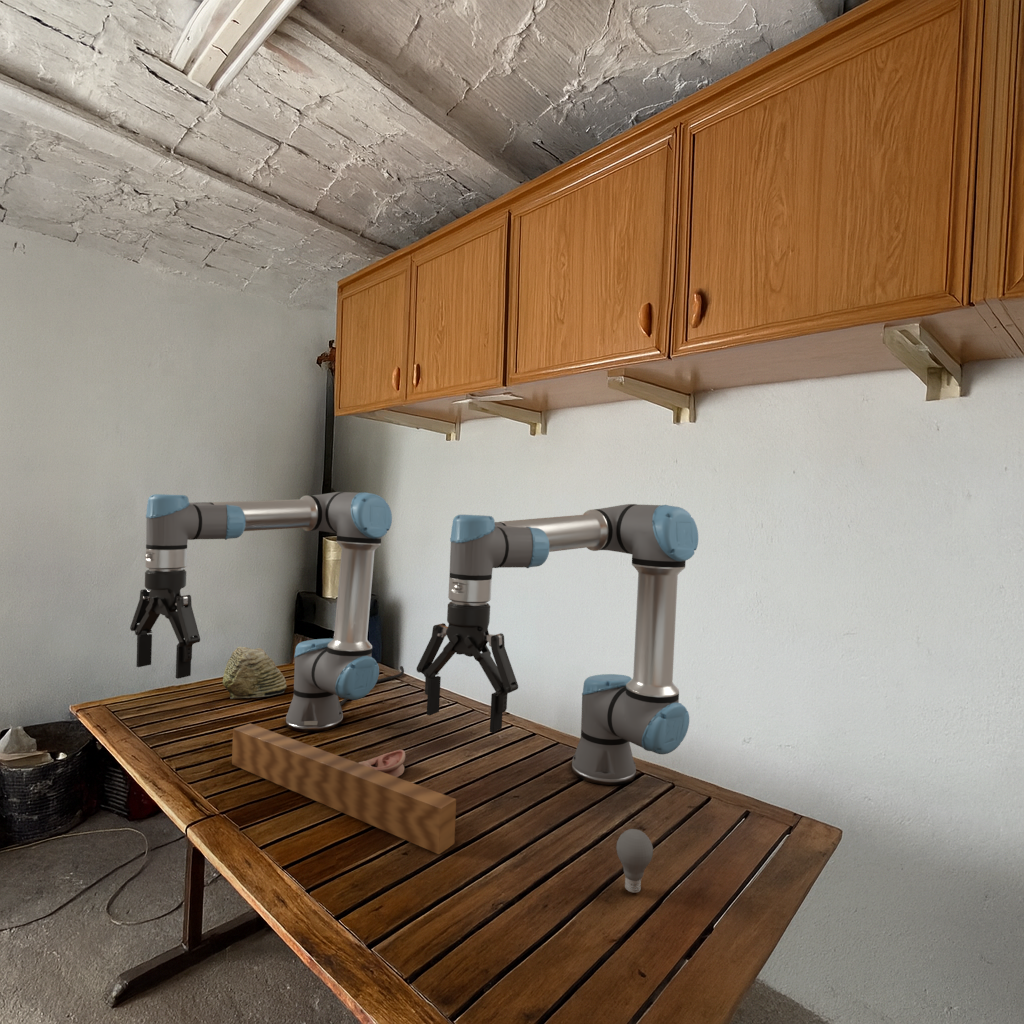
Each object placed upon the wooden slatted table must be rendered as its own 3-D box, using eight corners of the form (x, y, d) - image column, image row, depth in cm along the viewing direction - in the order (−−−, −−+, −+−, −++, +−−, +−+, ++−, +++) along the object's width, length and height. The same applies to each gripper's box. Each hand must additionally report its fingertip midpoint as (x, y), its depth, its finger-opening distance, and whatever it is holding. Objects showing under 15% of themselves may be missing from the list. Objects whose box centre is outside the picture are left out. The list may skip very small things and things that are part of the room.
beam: (231, 764, 148) (233, 728, 147) (249, 758, 151) (250, 723, 151) (438, 854, 114) (440, 808, 114) (454, 843, 118) (456, 799, 118)
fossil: (218, 695, 195) (220, 647, 195) (278, 685, 208) (279, 640, 207) (228, 703, 189) (230, 653, 188) (289, 692, 201) (290, 645, 201)
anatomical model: (336, 761, 142) (359, 742, 153) (336, 778, 142) (358, 758, 153) (392, 768, 139) (411, 749, 151) (391, 786, 139) (410, 765, 151)
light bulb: (610, 879, 108) (613, 822, 108) (644, 879, 109) (647, 822, 109) (619, 902, 102) (622, 840, 102) (655, 901, 103) (658, 840, 103)
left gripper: (113, 565, 134) (110, 664, 134) (186, 576, 121) (182, 686, 122) (148, 562, 140) (145, 657, 141) (221, 573, 128) (217, 677, 128)
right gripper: (400, 595, 115) (395, 711, 115) (519, 614, 102) (512, 744, 102) (426, 591, 121) (421, 701, 122) (541, 608, 109) (535, 731, 109)
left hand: (163, 671), depth 131 cm, fingers open, 13 cm apart
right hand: (463, 721), depth 112 cm, fingers open, 13 cm apart
